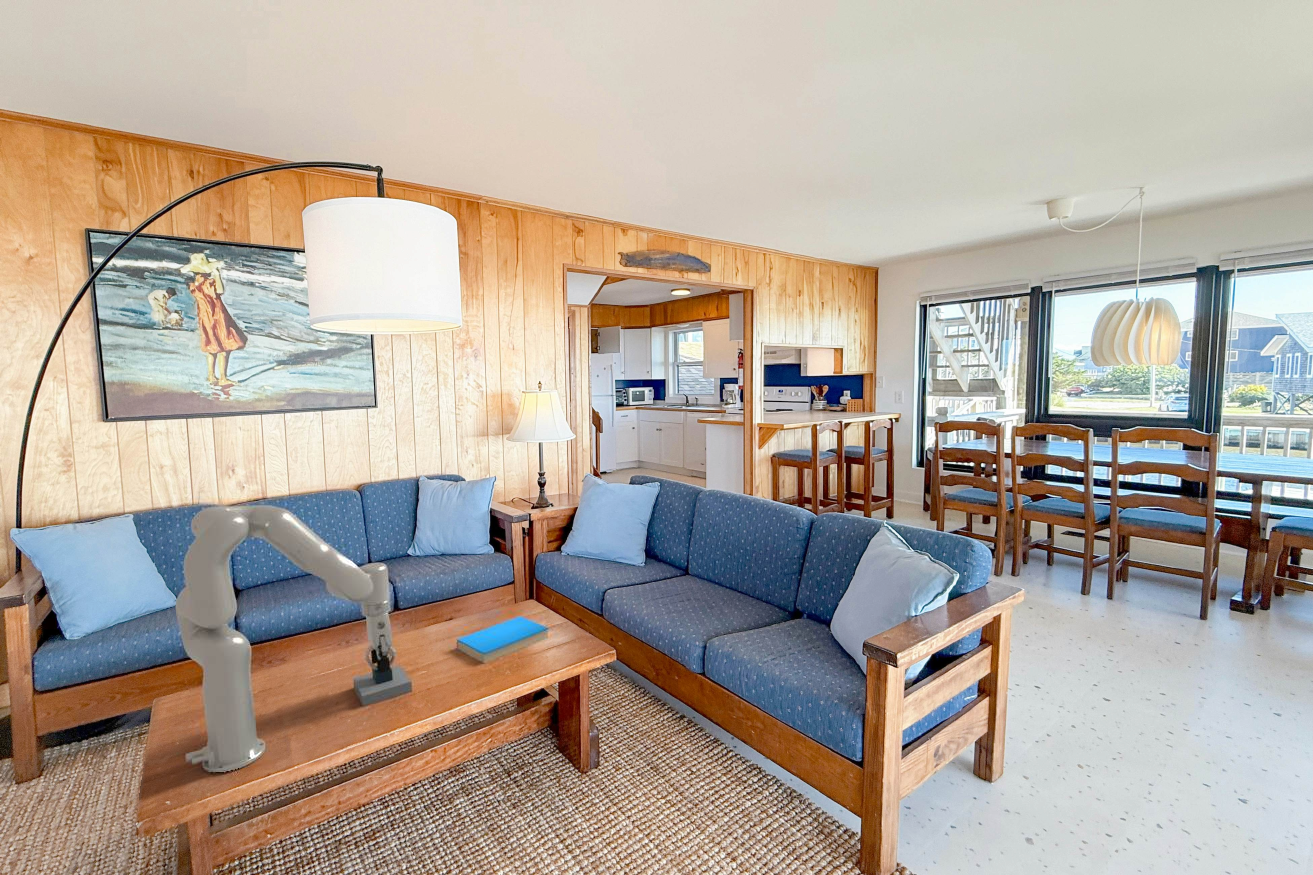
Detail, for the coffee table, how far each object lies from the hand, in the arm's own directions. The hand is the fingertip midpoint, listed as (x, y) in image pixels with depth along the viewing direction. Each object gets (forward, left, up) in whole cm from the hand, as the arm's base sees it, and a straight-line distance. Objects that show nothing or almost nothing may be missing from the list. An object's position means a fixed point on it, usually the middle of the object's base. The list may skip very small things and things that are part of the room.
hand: (380, 666), depth 180 cm
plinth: (0, 0, -7) cm, 7 cm away
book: (+40, +7, -8) cm, 41 cm away
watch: (0, +1, -4) cm, 4 cm away
